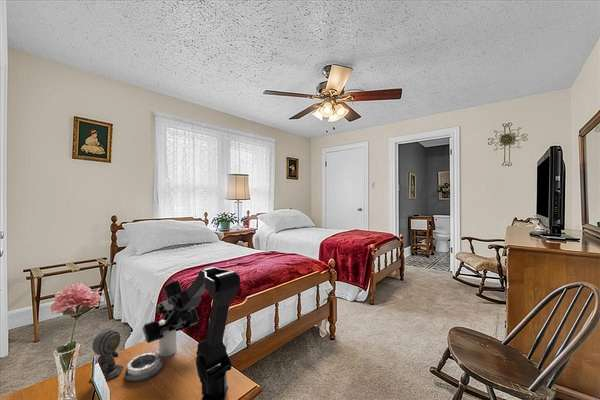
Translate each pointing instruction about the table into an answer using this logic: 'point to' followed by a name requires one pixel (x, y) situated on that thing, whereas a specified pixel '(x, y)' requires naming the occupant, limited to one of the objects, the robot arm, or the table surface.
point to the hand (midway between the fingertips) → (166, 333)
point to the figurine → (107, 353)
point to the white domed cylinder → (167, 342)
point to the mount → (143, 367)
